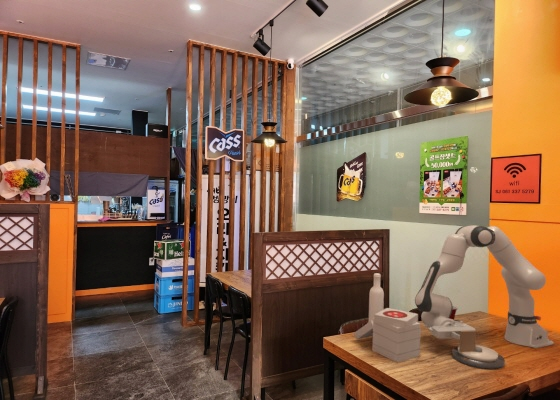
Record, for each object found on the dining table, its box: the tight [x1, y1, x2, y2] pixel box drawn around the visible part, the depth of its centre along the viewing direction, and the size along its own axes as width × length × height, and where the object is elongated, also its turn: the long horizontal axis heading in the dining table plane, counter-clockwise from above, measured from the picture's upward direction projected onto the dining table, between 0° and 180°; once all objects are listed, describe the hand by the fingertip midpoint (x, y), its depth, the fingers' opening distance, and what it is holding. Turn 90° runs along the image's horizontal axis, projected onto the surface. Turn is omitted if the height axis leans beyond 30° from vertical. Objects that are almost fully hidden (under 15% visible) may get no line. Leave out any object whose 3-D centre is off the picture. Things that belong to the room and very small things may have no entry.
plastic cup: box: [449, 305, 459, 320], centre depth 216 cm, size 11×11×12 cm
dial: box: [457, 330, 499, 362], centre depth 171 cm, size 16×16×10 cm
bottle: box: [368, 272, 385, 322], centre depth 210 cm, size 8×8×30 cm
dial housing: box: [451, 346, 506, 371], centre depth 171 cm, size 21×21×2 cm
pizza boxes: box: [353, 307, 422, 363], centre depth 180 cm, size 19×30×18 cm, turn 31°
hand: (464, 338), depth 171 cm, fingers closed
